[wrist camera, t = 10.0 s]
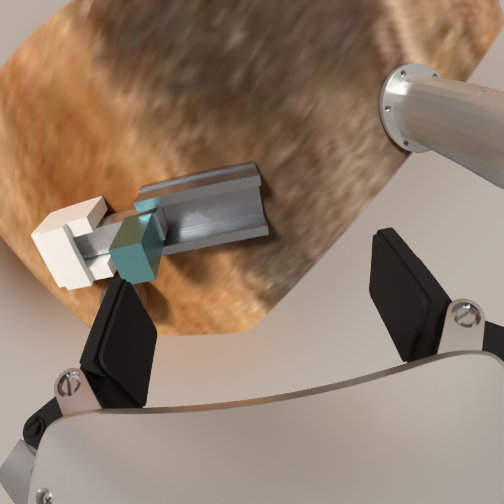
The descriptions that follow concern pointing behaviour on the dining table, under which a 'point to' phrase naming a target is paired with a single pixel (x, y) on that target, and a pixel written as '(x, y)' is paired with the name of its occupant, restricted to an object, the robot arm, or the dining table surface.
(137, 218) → the teal-tipped grey beam
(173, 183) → the guide channel
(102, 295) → the vase
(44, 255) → the socket block
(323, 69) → the dining table surface
